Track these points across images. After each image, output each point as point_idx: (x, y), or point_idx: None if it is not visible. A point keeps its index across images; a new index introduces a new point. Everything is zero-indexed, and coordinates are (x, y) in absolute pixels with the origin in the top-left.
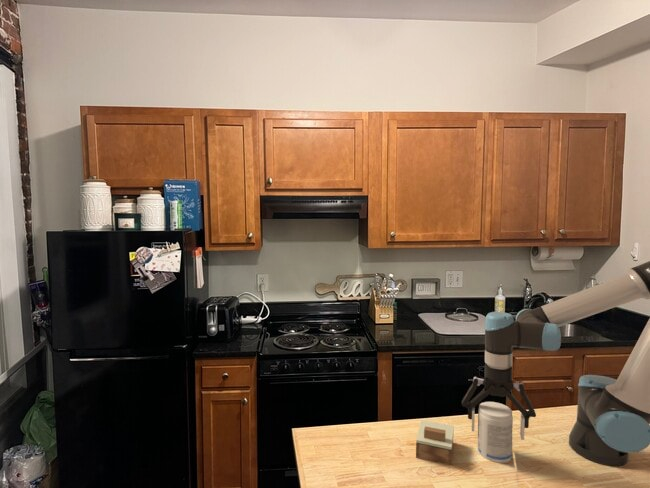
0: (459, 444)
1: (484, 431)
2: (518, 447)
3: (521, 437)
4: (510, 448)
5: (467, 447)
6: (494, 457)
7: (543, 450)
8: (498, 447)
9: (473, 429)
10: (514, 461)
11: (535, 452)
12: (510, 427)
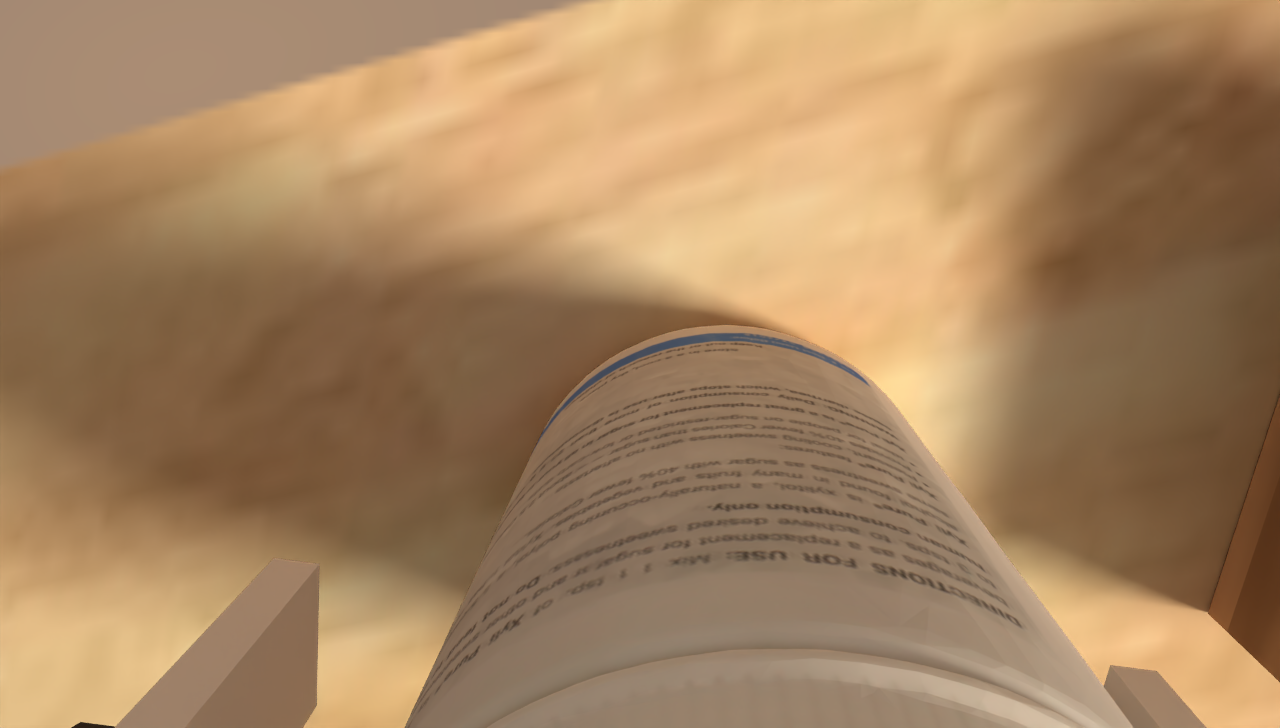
0: (1117, 638)
1: (1013, 569)
2: None
3: (301, 583)
4: (530, 467)
5: None
6: (770, 341)
7: None
8: (727, 385)
9: (1147, 689)
10: (505, 437)
11: None
12: (450, 659)
